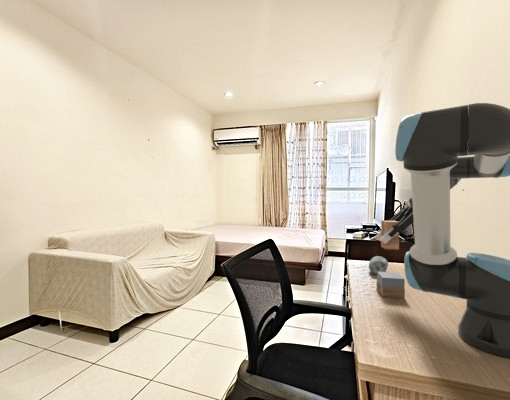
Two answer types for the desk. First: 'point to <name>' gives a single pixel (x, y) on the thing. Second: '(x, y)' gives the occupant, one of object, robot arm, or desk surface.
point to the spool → (378, 264)
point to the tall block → (394, 241)
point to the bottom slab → (390, 292)
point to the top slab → (390, 280)
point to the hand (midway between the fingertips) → (380, 239)
